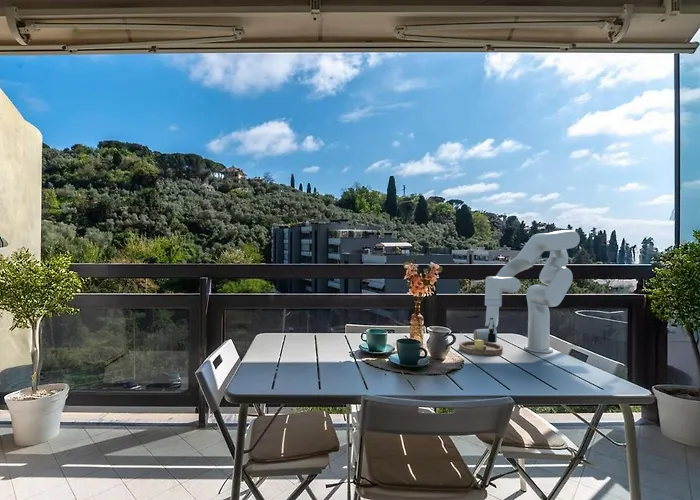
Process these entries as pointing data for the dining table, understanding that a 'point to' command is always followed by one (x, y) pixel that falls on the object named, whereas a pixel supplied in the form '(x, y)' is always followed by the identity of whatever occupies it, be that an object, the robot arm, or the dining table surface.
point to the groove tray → (489, 350)
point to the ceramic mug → (481, 335)
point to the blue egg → (495, 336)
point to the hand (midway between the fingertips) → (492, 340)
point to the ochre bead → (479, 344)
